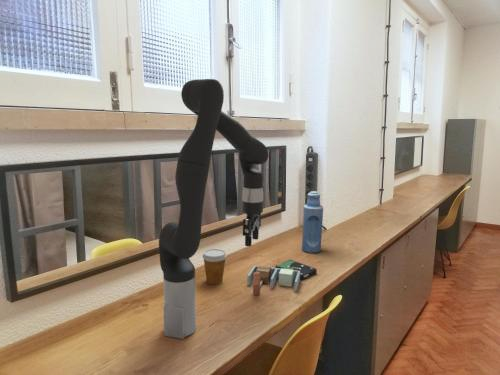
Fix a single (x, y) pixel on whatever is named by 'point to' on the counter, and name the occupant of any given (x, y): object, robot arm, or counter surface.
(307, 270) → the disk drive
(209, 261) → the disposable coffee cup
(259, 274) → the block with brown handle
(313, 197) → the bottle
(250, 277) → the lane rack
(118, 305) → the counter surface
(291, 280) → the block
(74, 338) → the counter surface
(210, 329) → the counter surface
